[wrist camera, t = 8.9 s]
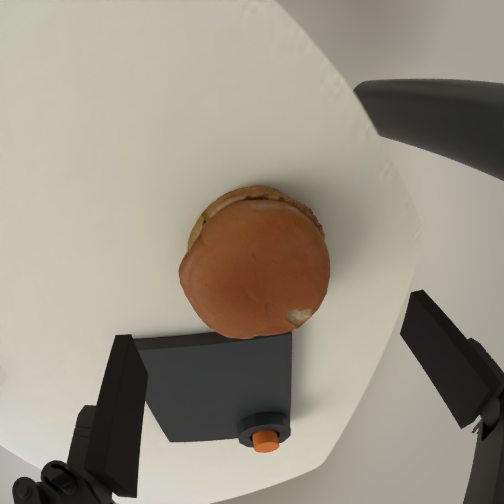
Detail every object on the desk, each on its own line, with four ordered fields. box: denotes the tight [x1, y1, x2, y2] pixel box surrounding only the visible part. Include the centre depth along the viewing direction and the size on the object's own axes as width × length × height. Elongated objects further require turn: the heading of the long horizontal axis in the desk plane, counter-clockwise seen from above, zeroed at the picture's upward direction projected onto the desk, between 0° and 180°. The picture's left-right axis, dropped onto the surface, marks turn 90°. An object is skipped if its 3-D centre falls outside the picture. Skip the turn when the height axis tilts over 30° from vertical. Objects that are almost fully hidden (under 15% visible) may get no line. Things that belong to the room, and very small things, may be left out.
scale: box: [133, 331, 292, 447], centre depth 27 cm, size 14×16×3 cm
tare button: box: [252, 430, 279, 453], centre depth 28 cm, size 3×3×2 cm
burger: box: [179, 186, 330, 339], centre depth 20 cm, size 10×9×5 cm
